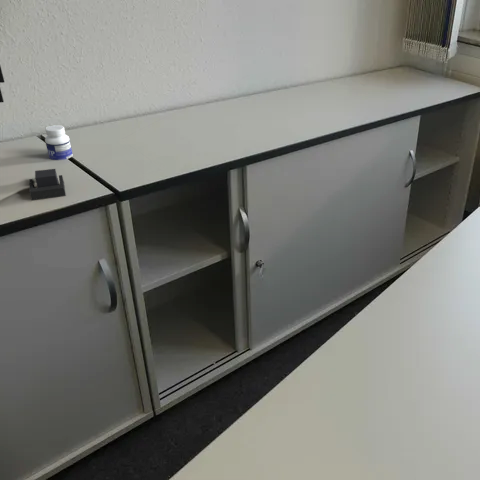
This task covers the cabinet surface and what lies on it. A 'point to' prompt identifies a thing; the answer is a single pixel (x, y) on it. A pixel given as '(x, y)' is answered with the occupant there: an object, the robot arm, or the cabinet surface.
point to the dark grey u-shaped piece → (47, 190)
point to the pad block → (46, 178)
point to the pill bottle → (58, 143)
